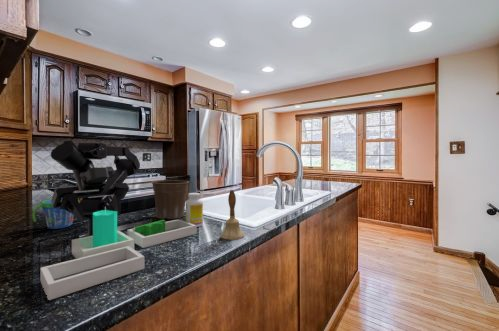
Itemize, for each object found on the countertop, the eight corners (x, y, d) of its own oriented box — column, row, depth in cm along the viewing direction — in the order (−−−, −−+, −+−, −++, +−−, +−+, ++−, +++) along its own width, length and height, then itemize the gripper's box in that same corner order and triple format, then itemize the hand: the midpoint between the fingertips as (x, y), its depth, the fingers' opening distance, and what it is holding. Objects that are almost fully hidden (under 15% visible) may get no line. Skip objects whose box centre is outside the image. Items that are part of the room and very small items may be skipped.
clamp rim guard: (127, 238, 79) (127, 229, 79) (178, 227, 93) (178, 219, 93) (143, 248, 71) (143, 238, 71) (196, 233, 85) (196, 225, 85)
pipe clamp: (141, 243, 76) (141, 228, 76) (134, 241, 78) (134, 227, 78) (170, 233, 86) (170, 220, 85) (163, 231, 88) (163, 219, 87)
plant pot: (174, 211, 121) (174, 179, 121) (196, 215, 112) (196, 181, 111) (144, 217, 108) (144, 181, 107) (166, 223, 99) (166, 184, 98)
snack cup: (34, 234, 83) (34, 205, 82) (31, 228, 90) (30, 201, 90) (87, 225, 94) (87, 199, 94) (80, 220, 101) (80, 196, 101)
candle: (90, 249, 67) (90, 206, 67) (114, 244, 71) (113, 204, 71) (95, 255, 63) (95, 210, 63) (120, 249, 67) (120, 207, 67)
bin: (71, 254, 66) (71, 239, 66) (118, 243, 75) (118, 230, 75) (83, 267, 58) (83, 251, 58) (134, 253, 67) (134, 239, 67)
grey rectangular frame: (40, 281, 52) (40, 267, 51) (128, 256, 65) (128, 245, 65) (48, 300, 45) (48, 284, 45) (144, 268, 58) (144, 256, 58)
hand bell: (234, 241, 78) (235, 192, 77) (215, 236, 82) (215, 190, 82) (248, 234, 85) (249, 190, 84) (230, 230, 89) (230, 188, 89)
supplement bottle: (206, 225, 97) (206, 193, 96) (194, 228, 91) (194, 195, 91) (194, 222, 100) (194, 191, 100) (182, 226, 95) (182, 193, 94)
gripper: (54, 156, 62) (70, 204, 56) (126, 157, 77) (145, 195, 71) (45, 184, 67) (59, 231, 61) (114, 180, 82) (131, 217, 76)
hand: (102, 217), depth 67 cm, fingers open, 9 cm apart
